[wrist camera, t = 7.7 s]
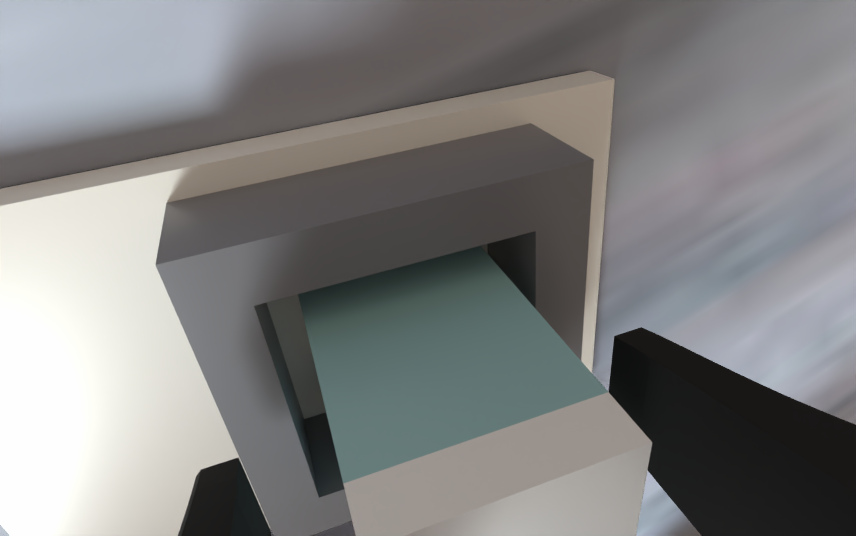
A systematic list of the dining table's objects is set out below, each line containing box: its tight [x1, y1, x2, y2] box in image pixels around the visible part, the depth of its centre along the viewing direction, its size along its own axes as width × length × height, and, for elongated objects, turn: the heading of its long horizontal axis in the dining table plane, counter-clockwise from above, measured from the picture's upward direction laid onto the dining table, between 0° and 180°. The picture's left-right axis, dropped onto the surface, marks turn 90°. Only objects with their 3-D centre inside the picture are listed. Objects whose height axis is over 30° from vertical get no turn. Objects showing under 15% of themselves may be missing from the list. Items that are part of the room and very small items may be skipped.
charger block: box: [298, 246, 652, 536], centre depth 11 cm, size 4×4×7 cm
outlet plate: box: [0, 71, 615, 536], centre depth 13 cm, size 11×16×4 cm
